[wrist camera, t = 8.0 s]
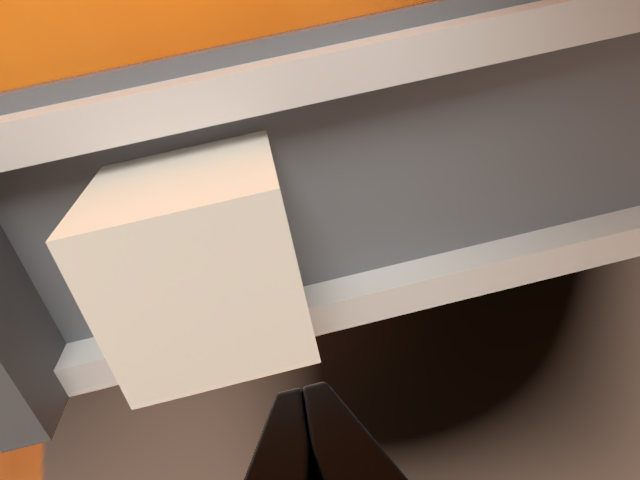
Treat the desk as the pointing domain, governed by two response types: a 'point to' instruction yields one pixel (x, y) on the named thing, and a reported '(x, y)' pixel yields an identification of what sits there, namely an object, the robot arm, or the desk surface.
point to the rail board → (345, 166)
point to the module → (188, 270)
